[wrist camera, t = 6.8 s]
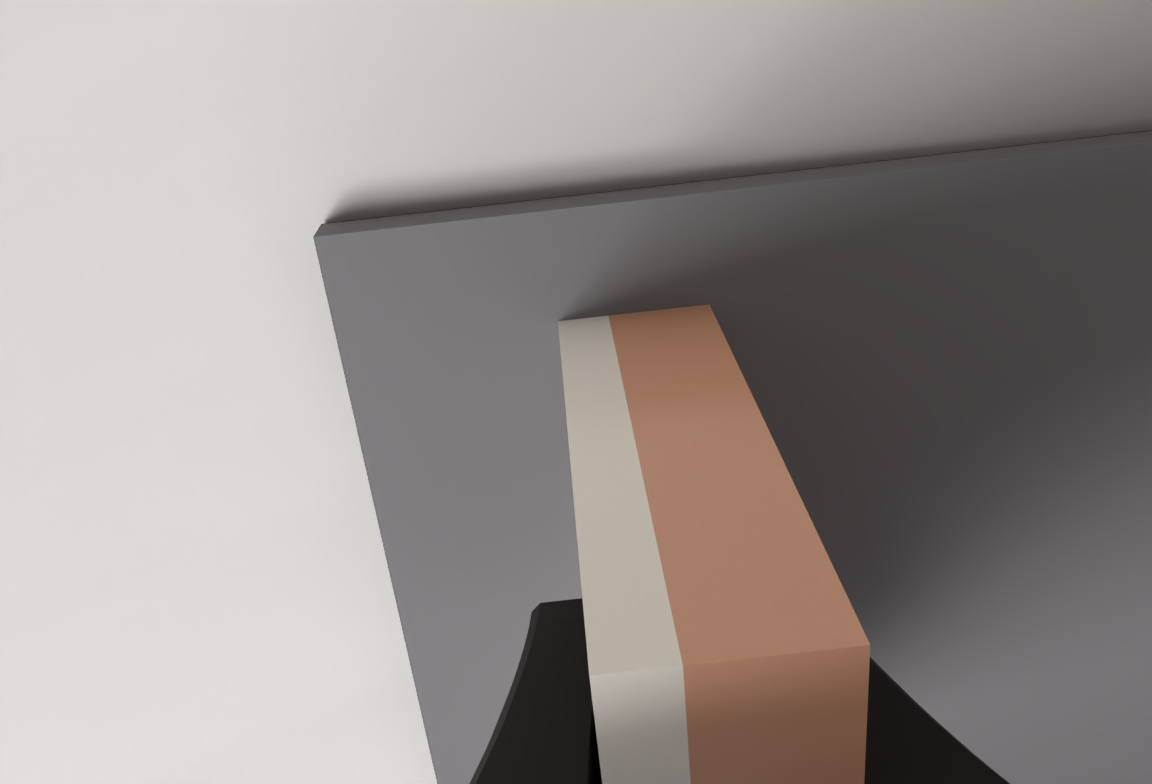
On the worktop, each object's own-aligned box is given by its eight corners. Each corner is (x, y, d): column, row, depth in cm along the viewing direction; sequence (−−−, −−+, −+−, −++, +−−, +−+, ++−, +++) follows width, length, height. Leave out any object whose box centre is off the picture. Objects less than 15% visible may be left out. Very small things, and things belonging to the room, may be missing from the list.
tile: (727, 740, 15) (845, 1217, 9) (607, 753, 15) (657, 1237, 9) (709, 304, 12) (871, 644, 6) (558, 320, 12) (590, 674, 6)
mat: (1172, 825, 17) (1190, 850, 16) (472, 904, 17) (471, 931, 16) (1343, 109, 12) (1376, 117, 11) (321, 224, 12) (313, 237, 11)
